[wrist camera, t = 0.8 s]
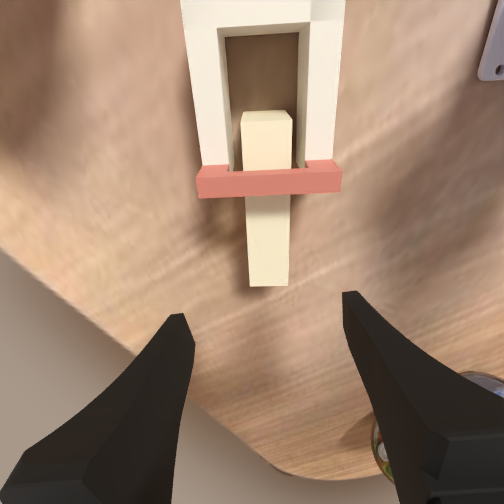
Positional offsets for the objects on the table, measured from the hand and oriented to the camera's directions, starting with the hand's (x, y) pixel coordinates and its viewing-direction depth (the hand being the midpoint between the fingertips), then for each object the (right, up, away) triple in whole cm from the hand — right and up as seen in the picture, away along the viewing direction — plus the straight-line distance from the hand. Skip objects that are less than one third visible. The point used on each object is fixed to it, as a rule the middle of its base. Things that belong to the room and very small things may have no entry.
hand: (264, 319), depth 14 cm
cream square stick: (0, +7, +7) cm, 10 cm away
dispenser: (0, +12, +4) cm, 13 cm away
